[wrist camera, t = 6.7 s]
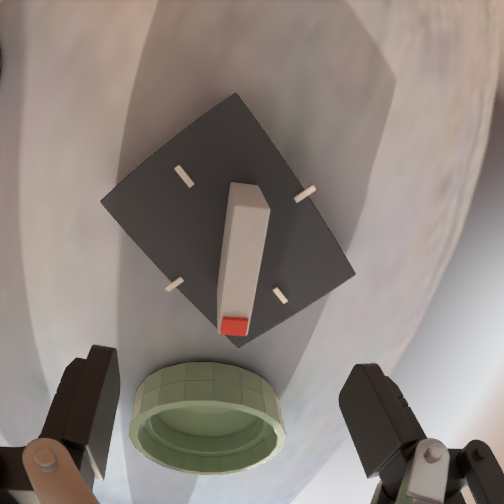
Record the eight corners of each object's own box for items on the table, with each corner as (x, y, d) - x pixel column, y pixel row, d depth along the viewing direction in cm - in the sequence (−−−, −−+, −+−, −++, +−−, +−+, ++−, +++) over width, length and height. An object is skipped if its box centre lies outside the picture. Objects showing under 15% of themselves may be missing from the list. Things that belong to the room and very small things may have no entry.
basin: (109, 393, 28) (99, 430, 24) (217, 331, 26) (217, 375, 21) (201, 451, 34) (201, 483, 29) (302, 408, 31) (311, 444, 27)
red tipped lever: (230, 181, 17) (234, 206, 13) (258, 185, 18) (272, 210, 13) (216, 289, 20) (217, 337, 16) (241, 291, 21) (248, 339, 16)
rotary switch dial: (108, 194, 20) (92, 208, 17) (241, 89, 18) (245, 85, 15) (229, 327, 25) (231, 353, 23) (348, 251, 24) (364, 271, 21)
